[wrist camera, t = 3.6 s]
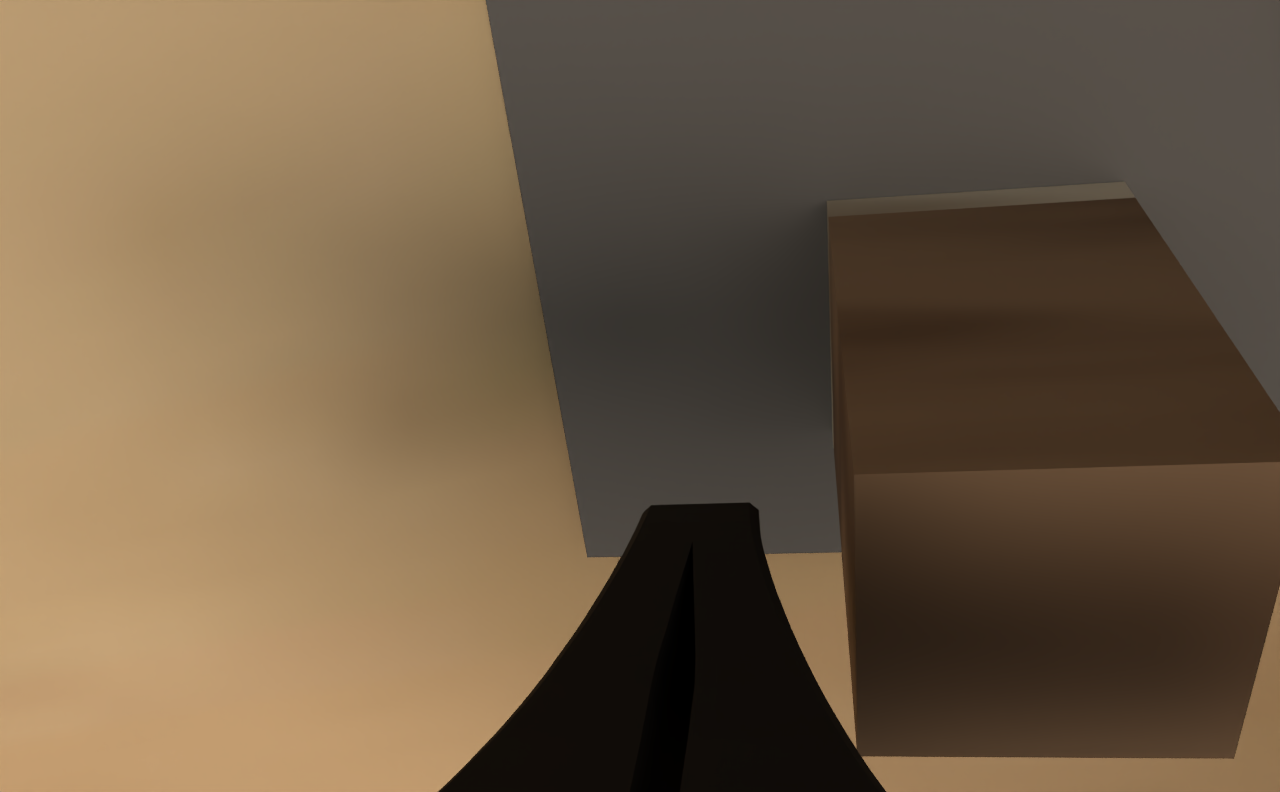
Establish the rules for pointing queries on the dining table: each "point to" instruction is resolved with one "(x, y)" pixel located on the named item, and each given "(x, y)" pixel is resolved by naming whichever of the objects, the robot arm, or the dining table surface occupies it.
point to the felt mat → (839, 170)
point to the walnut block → (1043, 481)
